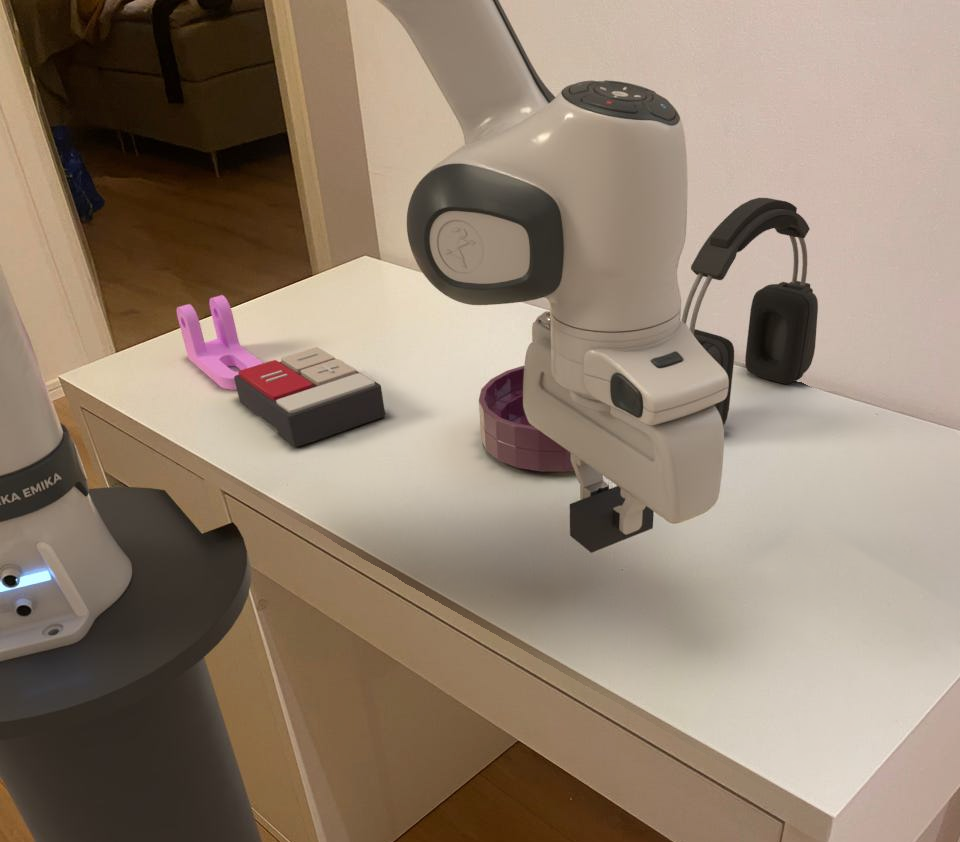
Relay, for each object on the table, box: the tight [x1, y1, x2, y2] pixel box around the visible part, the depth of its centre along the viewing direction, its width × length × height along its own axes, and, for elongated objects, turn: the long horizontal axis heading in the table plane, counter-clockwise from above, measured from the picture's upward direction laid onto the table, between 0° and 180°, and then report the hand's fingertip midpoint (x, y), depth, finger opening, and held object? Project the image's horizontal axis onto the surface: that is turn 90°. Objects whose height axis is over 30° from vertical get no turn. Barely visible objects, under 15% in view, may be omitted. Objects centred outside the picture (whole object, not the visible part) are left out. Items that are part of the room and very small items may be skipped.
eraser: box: [569, 485, 655, 554], centre depth 78 cm, size 6×3×3 cm, turn 120°
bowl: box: [478, 365, 574, 472], centre depth 99 cm, size 15×15×5 cm
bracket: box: [176, 294, 263, 391], centre depth 117 cm, size 13×6×7 cm, turn 34°
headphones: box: [680, 197, 819, 426], centre depth 99 cm, size 22×6×20 cm, turn 135°
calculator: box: [234, 346, 386, 448], centre depth 109 cm, size 11×4×15 cm
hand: (610, 516), depth 78 cm, fingers closed on eraser, 3 cm apart
